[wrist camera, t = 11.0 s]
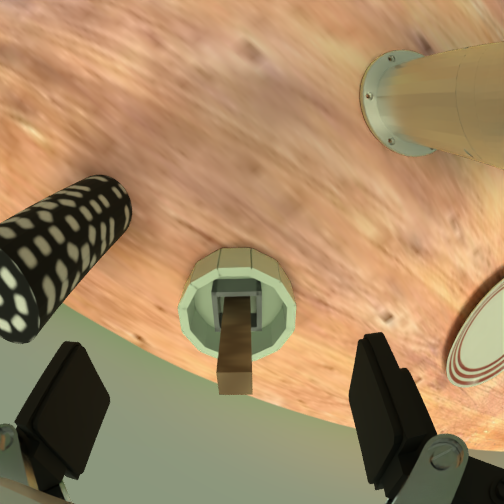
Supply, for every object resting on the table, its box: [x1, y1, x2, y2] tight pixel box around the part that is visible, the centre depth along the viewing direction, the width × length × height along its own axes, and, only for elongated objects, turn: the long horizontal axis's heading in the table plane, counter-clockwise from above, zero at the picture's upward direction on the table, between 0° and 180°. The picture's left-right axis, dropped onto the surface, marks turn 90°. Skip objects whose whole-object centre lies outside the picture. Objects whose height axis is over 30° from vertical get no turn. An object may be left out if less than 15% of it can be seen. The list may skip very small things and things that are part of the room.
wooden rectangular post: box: [216, 296, 252, 395], centre depth 32 cm, size 3×3×14 cm
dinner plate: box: [446, 278, 504, 387], centre depth 42 cm, size 27×27×3 cm
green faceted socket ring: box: [178, 248, 296, 361], centre depth 37 cm, size 13×13×5 cm
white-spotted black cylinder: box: [0, 175, 132, 344], centre depth 25 cm, size 8×8×20 cm
